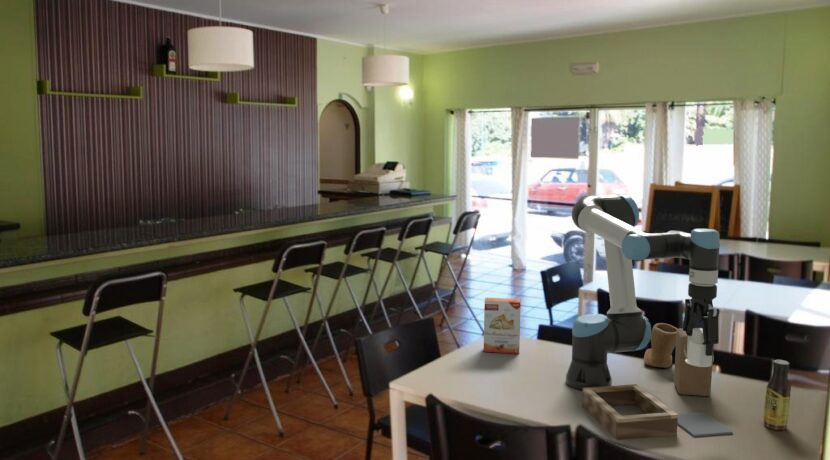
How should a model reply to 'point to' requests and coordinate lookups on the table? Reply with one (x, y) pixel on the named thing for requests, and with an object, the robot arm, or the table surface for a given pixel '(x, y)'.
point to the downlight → (695, 348)
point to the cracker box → (502, 325)
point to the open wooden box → (629, 426)
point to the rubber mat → (701, 424)
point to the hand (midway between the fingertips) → (698, 361)
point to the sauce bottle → (777, 397)
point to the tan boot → (661, 345)
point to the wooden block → (690, 371)
